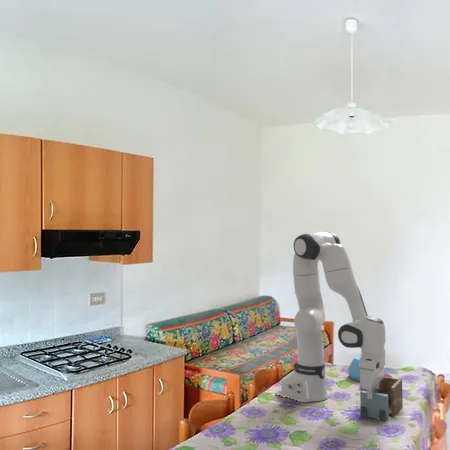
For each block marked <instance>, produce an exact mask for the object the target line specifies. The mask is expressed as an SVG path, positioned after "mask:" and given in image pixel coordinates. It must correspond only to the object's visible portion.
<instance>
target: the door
mask: <svg viewBox="0 0 450 450" xmlns="http://www.w3.org/2000/svg"><path fill="white" fill-rule="evenodd" d="M372 393H373V398H372V399H368V398H367V391H360V392H359V399H360V401H359V403H360V408H361V407H365V408H367V417H368V418H371V419H372V418H373V419H379V410H382V411H385V421H388V420H389V418H390V417H389V416H390V415H389V411H388V395H387V394H381V393H375V392H372ZM367 417H366V418H367Z"/></svg>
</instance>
